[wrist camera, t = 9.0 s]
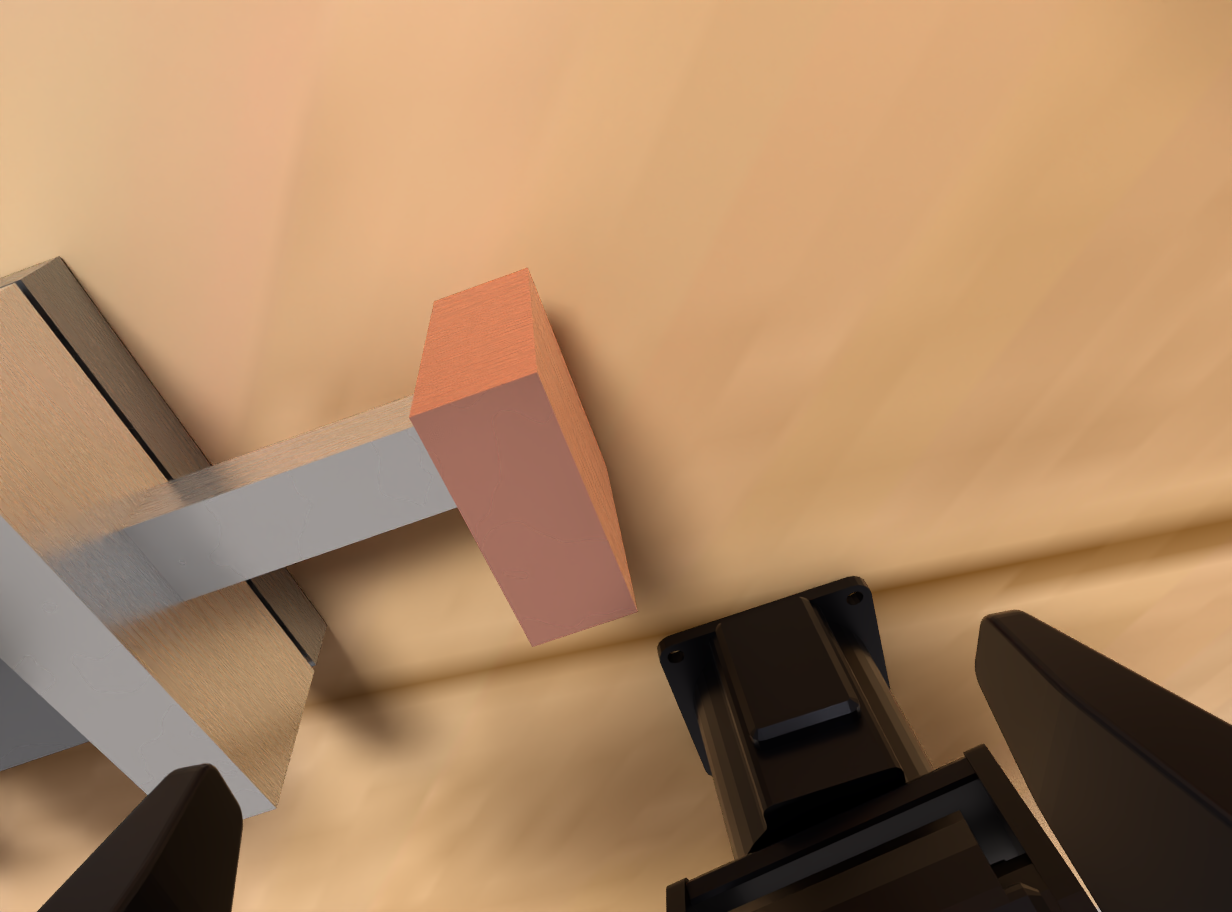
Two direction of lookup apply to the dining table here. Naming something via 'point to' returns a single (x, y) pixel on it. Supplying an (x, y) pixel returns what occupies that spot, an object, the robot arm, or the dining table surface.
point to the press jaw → (278, 533)
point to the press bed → (3, 702)
